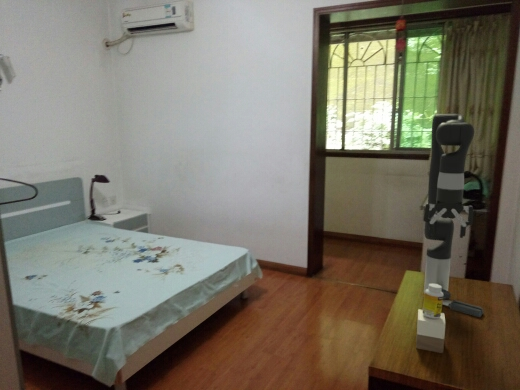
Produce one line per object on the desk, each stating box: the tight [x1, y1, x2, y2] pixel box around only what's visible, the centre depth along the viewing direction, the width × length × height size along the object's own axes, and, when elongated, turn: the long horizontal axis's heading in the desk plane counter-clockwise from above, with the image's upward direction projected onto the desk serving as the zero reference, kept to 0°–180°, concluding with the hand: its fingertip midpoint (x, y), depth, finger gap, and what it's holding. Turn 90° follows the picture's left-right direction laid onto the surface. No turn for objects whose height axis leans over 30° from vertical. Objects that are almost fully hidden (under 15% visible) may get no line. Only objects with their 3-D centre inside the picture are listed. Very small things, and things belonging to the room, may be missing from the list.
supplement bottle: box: [422, 284, 443, 318], centre depth 128 cm, size 6×6×10 cm
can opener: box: [441, 289, 484, 318], centre depth 155 cm, size 19×5×6 cm, turn 48°
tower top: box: [416, 308, 446, 340], centre depth 129 cm, size 8×8×5 cm
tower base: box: [415, 333, 445, 354], centre depth 130 cm, size 8×8×5 cm
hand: (446, 236), depth 127 cm, fingers open, 8 cm apart
